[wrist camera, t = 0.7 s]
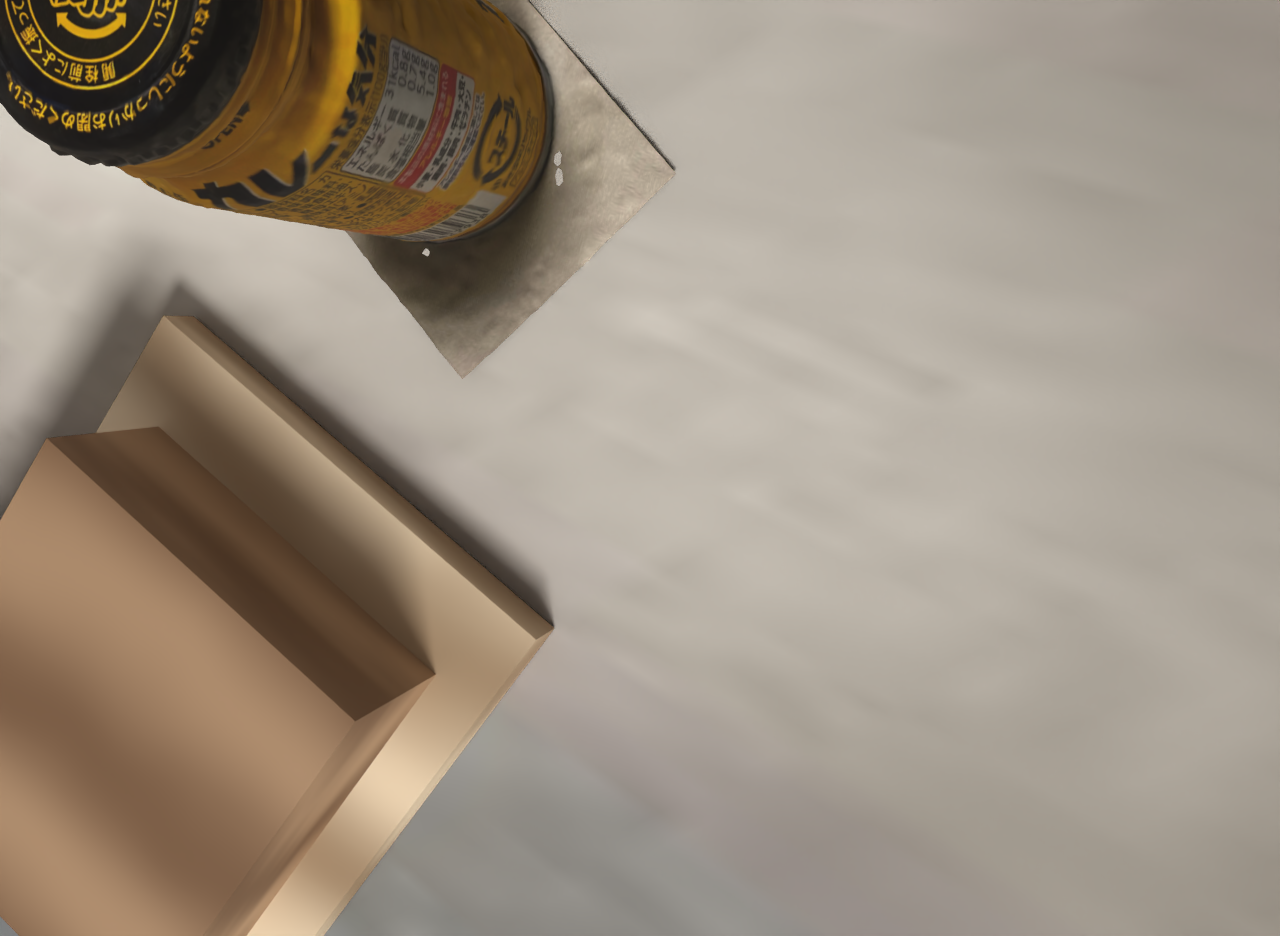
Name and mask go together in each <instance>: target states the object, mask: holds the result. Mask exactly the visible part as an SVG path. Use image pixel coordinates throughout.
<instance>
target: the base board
mask: <svg viewBox="0 0 1280 936" xmlns="http://www.w3.org/2000/svg"><path fill="white" fill-rule="evenodd" d="M553 630H554V627H552V626H551V625H550V624H549V623H548V622H547V621H546V620H544V619H543V618H542V617H541V616H540V615H539V614H537V613H536V612H535V611H534V610H533V609H532V608H530V607H529V606H528V605H527V604H526V603H525V602H524V601H522V600H521V599H520V598H519V597H518V596H517V595H515V594H514V593H513V592H512V591H511V590H510V589H509V588H507V587H506V586H505V585H504V584H503V583H502V582H500V581H499V580H498V579H497V578H496V577H495V576H493V575H492V574H491V573H490V572H489V571H488V570H487V569H485V568H484V567H483V566H482V565H481V564H480V563H478V562H477V561H476V560H475V559H474V558H473V557H471V556H470V555H469V554H468V553H467V552H466V551H465V550H463V549H462V548H461V547H460V546H459V545H458V544H456V543H455V542H454V541H453V540H452V539H451V538H449V537H448V536H447V535H446V534H445V533H444V532H443V531H441V530H440V529H439V528H438V527H437V526H436V525H434V524H433V523H432V522H431V521H430V520H429V519H427V518H426V517H425V516H424V515H423V514H422V513H421V512H419V511H418V510H417V509H416V508H415V507H414V506H412V505H411V504H410V503H409V502H408V501H407V500H405V499H404V498H403V497H402V496H401V495H400V494H399V493H397V492H396V491H395V490H394V489H393V488H392V487H390V486H389V485H388V484H387V483H386V482H385V481H383V480H382V479H381V478H380V477H379V476H378V475H377V474H375V473H374V472H373V471H372V470H371V469H370V468H368V467H367V466H366V465H365V464H364V463H363V462H362V461H360V460H359V459H358V458H357V457H356V456H355V455H353V454H352V453H351V452H350V451H349V450H348V449H346V448H345V447H344V446H343V445H342V444H341V443H340V442H338V441H337V440H336V439H335V438H334V437H333V436H331V435H330V434H329V433H328V432H327V431H326V430H324V429H323V428H322V427H321V426H320V425H319V424H318V423H316V422H315V421H314V420H313V419H312V418H311V417H309V416H308V415H307V414H306V413H305V412H304V411H302V410H301V409H300V408H299V407H298V406H297V405H296V404H294V403H293V402H292V401H291V400H290V399H289V398H287V397H286V396H285V395H284V394H283V393H282V392H280V391H279V390H278V389H277V388H276V387H275V386H274V385H272V384H271V383H270V382H269V381H268V380H267V379H265V378H264V377H263V376H262V375H261V374H260V373H258V372H257V371H256V370H255V369H254V368H253V367H252V366H250V365H249V364H248V363H247V362H246V361H245V360H243V359H242V358H241V357H240V356H239V355H238V354H236V353H235V352H234V351H233V350H232V349H231V348H230V347H228V346H227V345H226V344H225V343H224V342H223V341H221V340H220V339H219V338H218V337H217V336H216V335H214V334H213V333H212V332H211V331H210V330H209V329H208V328H206V327H205V326H204V325H203V324H202V323H201V322H199V321H198V320H197V319H196V318H195V317H194V316H163V317H162V319H161V320H160V322H159V324H158V326H157V327H156V329H155V331H154V333H153V334H152V336H151V338H150V340H149V341H148V343H147V345H146V347H145V348H144V350H143V352H142V353H141V355H140V357H139V359H138V360H137V362H136V364H135V366H134V367H133V369H132V371H131V373H130V374H129V376H128V378H127V379H126V381H125V383H124V385H123V386H122V388H121V390H120V392H119V393H118V395H117V397H116V399H115V400H114V402H113V404H112V406H111V407H110V409H109V411H108V412H107V414H106V416H105V418H104V419H103V421H102V423H101V425H100V426H99V428H98V430H97V432H96V433H91V434H81V435H72V436H62V437H53V438H46V440H45V442H44V444H43V445H42V447H41V449H40V451H39V452H38V454H37V456H36V458H35V460H34V461H33V463H32V465H31V467H30V468H29V470H28V472H27V474H26V476H25V477H24V479H23V481H22V483H21V484H20V486H19V488H18V490H17V492H16V493H15V495H14V497H13V499H12V500H11V502H10V504H9V506H8V508H7V509H6V511H5V513H4V515H3V516H2V518H1V520H0V916H1V918H2V919H3V920H4V921H5V922H6V923H7V924H8V925H9V926H10V927H11V928H12V929H13V930H14V931H15V932H16V933H17V934H18V935H19V936H324V934H325V933H326V932H327V930H328V929H329V928H330V926H331V925H332V924H333V922H334V921H335V920H336V918H337V917H338V916H339V914H340V913H341V912H342V910H343V909H344V908H345V906H346V905H347V904H348V902H349V901H350V900H351V899H352V897H353V896H354V895H355V893H356V892H357V891H358V889H359V888H360V887H361V885H362V884H363V883H364V881H365V880H366V879H367V877H368V876H369V875H370V873H371V872H372V871H373V869H374V868H375V867H376V865H377V864H378V863H379V861H380V860H381V859H382V857H383V856H384V855H385V853H386V852H387V851H388V849H389V848H390V847H391V845H392V844H393V843H394V841H395V840H396V839H397V837H398V836H399V835H400V833H401V832H402V831H403V829H404V828H405V827H406V825H407V824H408V823H409V821H410V820H411V819H412V817H413V816H414V815H415V813H416V812H417V811H418V809H419V808H420V807H421V805H422V804H423V803H424V801H425V800H426V799H427V797H428V796H429V795H430V793H431V792H432V791H433V789H434V788H435V787H436V785H437V784H438V783H439V781H440V780H441V779H442V777H443V776H444V775H445V773H446V772H447V771H448V769H449V768H450V767H451V765H452V764H453V763H454V761H455V760H456V759H457V757H458V756H459V755H460V753H461V752H462V751H463V749H464V748H465V747H466V745H467V744H468V743H469V741H470V740H471V739H472V737H473V736H474V735H475V733H476V732H477V731H478V729H479V728H480V727H481V725H482V724H483V723H484V721H485V720H486V719H487V717H488V716H489V715H490V713H491V712H492V711H493V709H494V708H495V707H496V705H497V704H498V703H499V701H500V700H501V699H502V697H503V696H504V695H505V693H506V692H507V691H508V689H509V688H510V687H511V685H512V684H513V683H514V681H515V680H516V679H517V677H518V676H519V675H520V673H521V672H522V671H523V669H524V668H525V667H526V666H527V664H528V663H529V662H530V660H531V659H532V658H533V656H534V655H535V654H536V652H537V651H538V650H539V648H540V647H541V646H542V644H543V643H544V642H545V640H546V639H547V638H548V636H549V635H550V634H551V632H552V631H553Z"/></svg>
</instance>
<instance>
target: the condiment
mask: <svg viewBox="0 0 1280 936" xmlns="http://www.w3.org/2000/svg"><path fill="white" fill-rule="evenodd" d="M0 103H1V104H2V105H3V106H4V107H5V108H6V110H7V112H8V113H9V114H10V115H11V116H12V117H13V118H14V119H15V120H16V122H17V123H18V124H19V125H20V126H22V127H23V128H24V129H25V130H26V131H28V132H29V133H31V134H32V135H34V136H35V137H37V138H38V139H40V140H41V141H43V142H45V143H47V144H48V145H50V148H51V150H52V151H54V152H55V153H57V154H58V155H72V156H74V157H75V158H77V159H78V160H80V161H82V162H85V163H87V164H89V165H95V164H98V163H102V164H104V165H105V166H115V167H118V168H120V169H121V170H123V171H124V172H125V173H127V174H129V175H131V176H133V177H135V178H140V179H141V180H142V181H143V182H144V183H145V184H147V185H148V186H150V187H152V188H154V189H156V190H158V191H160V192H161V193H163V194H165V195H168V196H170V197H172V198H175V199H177V200H180V201H183V202H186V203H190V204H193V205H196V206H202V207H205V208H214V209H221V210H227V211H232V212H235V213H241V214H248V215H256V216H262V217H268V218H274V219H279V220H284V221H289V222H298V223H303V224H309V225H316V226H319V227H325V228H332V229H339V230H345V231H346V232H347V233H348V234H349V236H350V237H351V238H352V240H353V241H354V243H355V244H356V245H357V247H358V248H359V249H360V251H361V252H362V253H363V255H364V256H365V257H366V258H367V259H368V260H369V262H370V263H371V265H372V267H373V268H374V270H375V271H376V272H377V274H378V275H379V276H380V278H381V279H382V280H383V281H384V282H385V283H386V284H387V285H388V286H389V287H390V289H391V290H392V291H393V292H394V293H395V295H396V296H397V297H398V299H399V300H400V302H401V303H402V304H403V305H404V306H405V307H406V308H407V309H408V310H409V312H410V313H411V314H412V315H413V317H414V318H415V320H416V321H417V322H418V323H419V324H420V326H421V327H422V328H423V329H424V331H425V332H426V334H427V335H428V336H429V338H430V339H431V340H432V342H433V343H434V345H435V346H436V348H437V349H438V350H439V351H440V353H441V354H442V355H443V356H444V357H445V358H446V359H447V361H448V362H449V363H450V364H451V366H452V367H453V368H454V369H455V371H456V372H457V373H458V374H459V375H460V377H461V378H462V379H463V378H464V377H465V376H466V375H468V374H469V373H470V372H471V371H472V370H473V369H474V368H475V367H476V366H477V365H478V364H479V363H480V362H481V361H482V360H483V359H484V358H485V357H486V356H488V355H489V354H491V353H492V352H493V351H494V350H495V349H496V348H497V347H498V346H499V345H500V344H501V343H502V342H503V341H504V340H505V339H506V338H507V337H509V336H510V335H511V334H512V333H513V332H514V331H515V330H516V329H517V328H518V327H519V326H520V325H521V324H522V323H523V322H524V321H525V320H526V319H527V318H528V317H529V316H530V315H531V314H532V313H534V312H535V311H536V310H537V309H538V308H539V307H540V306H541V305H542V304H543V303H544V302H545V301H546V300H547V299H548V298H549V297H550V296H551V295H553V294H554V293H555V292H556V291H557V290H558V289H559V288H560V287H561V286H562V285H563V284H564V283H565V282H566V281H567V280H568V279H569V278H570V277H571V276H572V275H573V274H574V273H575V272H576V271H577V270H578V269H579V268H581V267H582V266H584V263H586V262H588V261H589V260H590V259H591V257H592V256H593V255H594V254H595V253H596V252H597V251H598V250H599V248H600V247H601V246H602V245H603V244H604V243H605V242H606V241H607V240H608V239H610V238H611V237H612V236H613V235H614V233H616V232H617V231H618V230H619V229H620V228H621V227H622V226H623V225H624V224H625V223H627V222H628V221H629V220H630V219H631V218H632V217H633V216H634V215H635V214H636V213H637V212H638V211H639V209H640V208H641V207H642V206H643V205H644V204H645V203H646V202H647V201H648V200H649V199H650V198H651V197H652V196H653V195H654V194H655V193H656V192H657V191H658V190H659V189H660V188H662V187H663V186H664V185H665V184H666V183H667V182H668V181H669V180H670V179H671V178H672V177H673V176H674V175H675V174H676V173H675V172H674V170H673V169H672V168H671V167H670V166H669V165H668V163H667V162H666V161H665V160H664V159H663V158H662V157H661V155H660V154H659V153H658V152H657V151H656V150H655V149H654V147H653V146H652V145H651V144H650V143H649V142H648V140H647V139H646V138H645V137H644V136H643V134H642V133H641V132H640V131H639V130H638V128H637V127H636V126H635V125H634V124H633V123H632V122H631V120H630V119H629V118H628V117H627V116H626V115H625V114H624V113H623V112H622V110H621V109H620V108H619V107H618V106H617V104H616V103H615V102H614V101H613V100H612V99H611V98H610V97H609V95H608V94H607V93H606V92H605V90H604V89H603V88H602V87H601V86H600V84H599V83H598V82H597V81H596V80H595V79H594V78H593V77H592V75H591V74H590V73H589V72H588V70H587V69H586V68H585V67H584V66H583V64H582V63H581V62H580V61H579V60H578V59H577V58H576V56H575V55H574V54H573V53H572V52H571V50H570V49H569V48H568V47H567V46H566V44H565V43H564V42H563V41H562V40H561V38H560V37H559V36H558V35H557V34H556V33H555V31H554V30H553V29H552V28H551V27H550V25H549V24H548V23H547V22H546V21H545V20H544V19H543V17H542V16H541V15H540V14H539V13H538V12H537V10H536V9H535V8H534V7H533V6H532V5H531V4H530V2H529V1H528V0H0ZM559 151H560V152H561V154H562V157H561V164H560V165H559V166H558V167H557V166H556V165H555V164H554V156H555V154H556V153H558V152H559ZM557 168H560V169H562V173H563V183H562V184H561V185H560V186H558V185H556V179H555V174H556V170H557ZM425 248H427V249H428V250H429V251H430V255H429V256H428V257H427V256H425V255H423V254H422V252H423V251H424V249H425Z"/></svg>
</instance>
